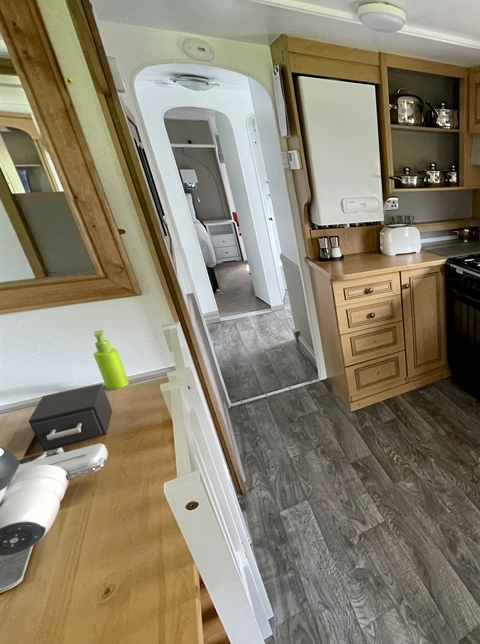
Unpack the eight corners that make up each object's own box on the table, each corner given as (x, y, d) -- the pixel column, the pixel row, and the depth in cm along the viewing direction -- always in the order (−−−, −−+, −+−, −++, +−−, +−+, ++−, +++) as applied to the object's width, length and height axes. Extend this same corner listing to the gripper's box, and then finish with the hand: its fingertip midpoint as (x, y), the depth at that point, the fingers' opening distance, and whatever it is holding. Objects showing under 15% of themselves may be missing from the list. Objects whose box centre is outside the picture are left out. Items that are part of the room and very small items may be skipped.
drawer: (99, 442, 102) (89, 418, 100) (39, 458, 96) (27, 433, 93) (108, 412, 116) (99, 390, 113) (55, 424, 109) (45, 401, 106)
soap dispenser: (128, 378, 137) (110, 327, 129) (128, 386, 132) (109, 333, 124) (107, 383, 133) (87, 331, 126) (106, 391, 128) (85, 337, 121)
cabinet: (106, 434, 107) (94, 405, 103) (43, 451, 100) (28, 420, 97) (112, 410, 118) (101, 383, 114) (56, 424, 111) (42, 396, 107)
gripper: (98, 456, 85) (107, 426, 95) (-42, 496, 74) (-15, 457, 84) (107, 478, 87) (115, 446, 98) (-27, 520, 76) (-2, 479, 87)
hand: (54, 451), depth 91 cm, fingers closed
